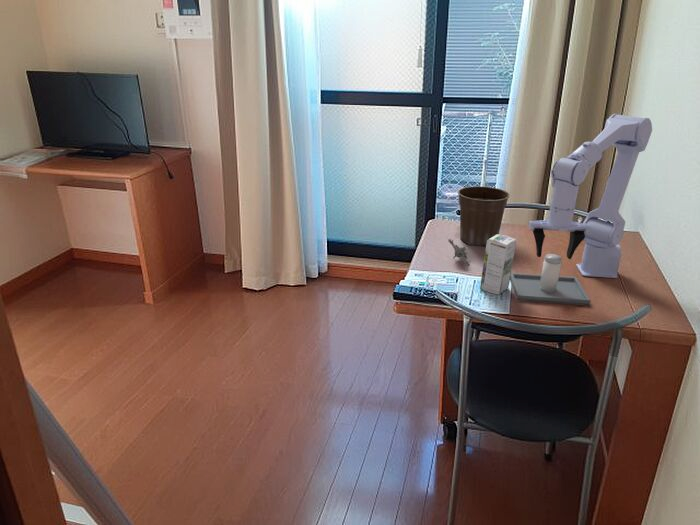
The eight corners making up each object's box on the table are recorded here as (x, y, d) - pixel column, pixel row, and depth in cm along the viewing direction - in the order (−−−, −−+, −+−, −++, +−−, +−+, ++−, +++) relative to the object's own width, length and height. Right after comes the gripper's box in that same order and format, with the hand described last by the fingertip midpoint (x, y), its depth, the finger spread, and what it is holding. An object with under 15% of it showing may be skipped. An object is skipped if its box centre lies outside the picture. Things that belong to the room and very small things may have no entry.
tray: (575, 281, 150) (576, 277, 149) (589, 305, 137) (590, 300, 137) (509, 277, 152) (509, 272, 151) (517, 300, 139) (517, 295, 139)
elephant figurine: (481, 259, 164) (476, 259, 156) (465, 270, 166) (459, 272, 158) (460, 233, 167) (454, 232, 158) (445, 245, 168) (438, 245, 160)
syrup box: (489, 282, 149) (495, 233, 143) (509, 288, 146) (516, 238, 140) (479, 289, 145) (485, 238, 139) (500, 295, 142) (507, 244, 136)
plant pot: (448, 243, 175) (452, 196, 169) (458, 228, 189) (463, 183, 182) (499, 252, 169) (505, 202, 163) (506, 235, 183) (512, 189, 177)
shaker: (553, 285, 146) (560, 254, 143) (558, 292, 142) (564, 260, 139) (537, 284, 147) (543, 253, 143) (541, 291, 143) (547, 259, 139)
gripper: (535, 210, 132) (527, 260, 138) (597, 213, 131) (586, 264, 136) (530, 201, 139) (523, 250, 144) (589, 204, 137) (579, 253, 143)
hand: (553, 256), depth 141 cm, fingers open, 7 cm apart
